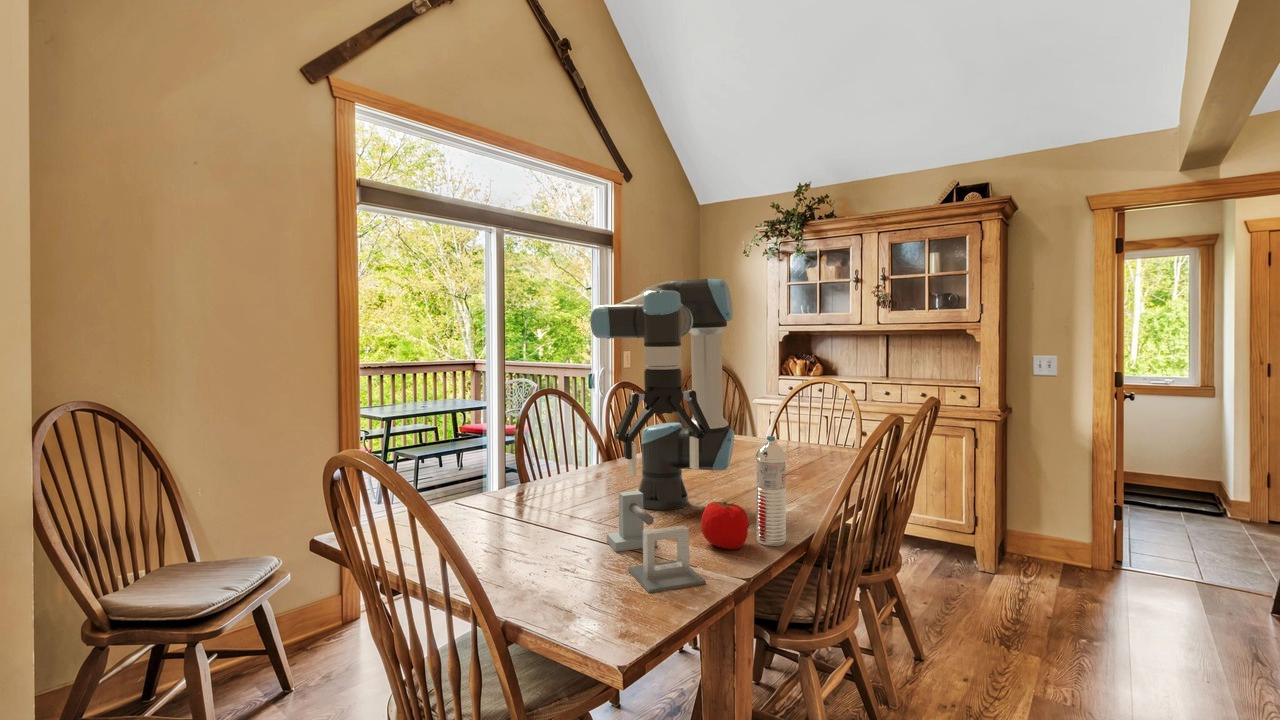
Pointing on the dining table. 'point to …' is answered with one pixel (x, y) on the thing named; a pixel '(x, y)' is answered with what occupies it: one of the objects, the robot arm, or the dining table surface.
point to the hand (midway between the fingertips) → (663, 472)
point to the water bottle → (771, 494)
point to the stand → (630, 522)
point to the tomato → (725, 525)
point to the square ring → (649, 556)
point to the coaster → (666, 579)
